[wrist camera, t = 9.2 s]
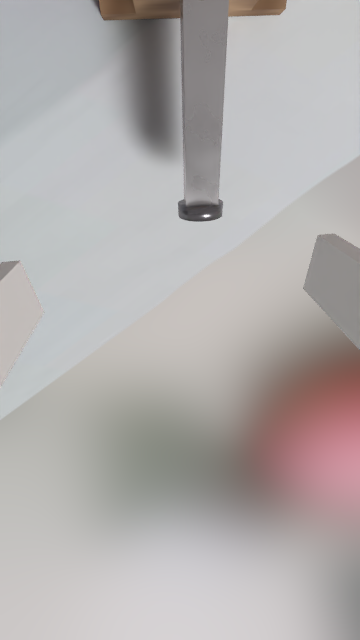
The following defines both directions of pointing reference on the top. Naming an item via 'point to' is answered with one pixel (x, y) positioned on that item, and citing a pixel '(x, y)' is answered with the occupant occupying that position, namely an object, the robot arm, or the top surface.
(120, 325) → the top surface
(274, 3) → the bearing block
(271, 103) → the top surface
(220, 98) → the shaft
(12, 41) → the top surface
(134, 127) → the top surface
